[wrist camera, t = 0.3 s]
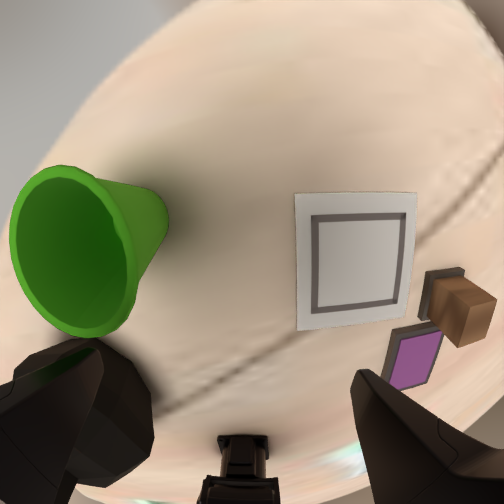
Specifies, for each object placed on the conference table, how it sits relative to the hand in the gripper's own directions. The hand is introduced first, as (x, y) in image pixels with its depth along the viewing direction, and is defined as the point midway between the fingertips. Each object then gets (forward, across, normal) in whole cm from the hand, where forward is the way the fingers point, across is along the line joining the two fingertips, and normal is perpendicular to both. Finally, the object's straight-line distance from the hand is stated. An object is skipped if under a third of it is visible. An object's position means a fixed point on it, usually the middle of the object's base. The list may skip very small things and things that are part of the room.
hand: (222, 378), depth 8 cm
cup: (+15, +9, -2) cm, 17 cm away
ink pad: (+14, -19, +11) cm, 27 cm away
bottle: (+15, +16, +17) cm, 28 cm away
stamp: (+14, -20, +3) cm, 25 cm away
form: (+14, -10, 0) cm, 17 cm away
